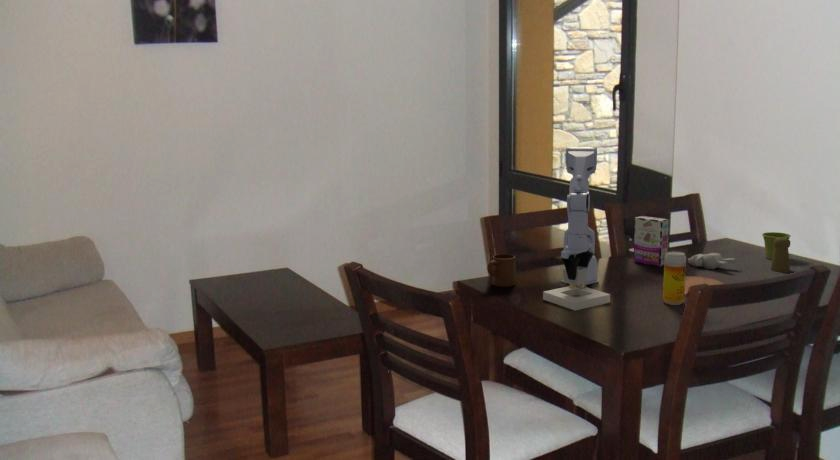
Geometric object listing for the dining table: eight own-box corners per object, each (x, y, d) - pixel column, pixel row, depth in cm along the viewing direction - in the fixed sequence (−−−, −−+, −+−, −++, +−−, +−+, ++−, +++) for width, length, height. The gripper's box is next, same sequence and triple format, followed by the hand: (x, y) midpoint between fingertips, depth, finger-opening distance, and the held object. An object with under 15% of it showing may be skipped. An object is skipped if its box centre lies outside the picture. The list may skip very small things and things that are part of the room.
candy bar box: (668, 264, 290) (670, 218, 286) (660, 267, 286) (662, 221, 283) (640, 259, 298) (642, 215, 294) (632, 262, 294) (634, 216, 291)
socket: (577, 292, 258) (577, 281, 257) (609, 302, 246) (610, 291, 246) (543, 299, 251) (543, 289, 250) (575, 310, 239) (575, 299, 238)
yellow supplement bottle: (680, 306, 241) (683, 256, 238) (660, 303, 244) (662, 254, 241) (686, 301, 246) (688, 252, 243) (665, 298, 249) (668, 250, 246)
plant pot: (754, 257, 298) (756, 233, 297) (773, 254, 302) (775, 231, 300) (775, 262, 290) (777, 238, 288) (794, 259, 294) (796, 235, 292)
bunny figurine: (696, 250, 293) (737, 252, 282) (697, 265, 293) (738, 267, 282) (683, 255, 286) (724, 257, 275) (684, 269, 287) (725, 272, 276)
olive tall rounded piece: (770, 271, 279) (772, 239, 276) (770, 267, 284) (772, 235, 282) (790, 272, 276) (792, 240, 274) (789, 268, 282) (791, 236, 280)
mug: (497, 291, 260) (497, 262, 258) (479, 287, 265) (478, 259, 263) (520, 284, 268) (520, 255, 267) (501, 280, 273) (501, 252, 272)
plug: (572, 284, 251) (572, 265, 250) (586, 287, 248) (586, 267, 247) (563, 287, 248) (563, 268, 247) (577, 290, 244) (577, 270, 243)
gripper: (579, 227, 252) (578, 270, 255) (552, 235, 242) (551, 280, 244) (599, 230, 247) (598, 274, 250) (573, 238, 237) (572, 284, 240)
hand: (576, 277), depth 247 cm, fingers closed on plug, 5 cm apart
